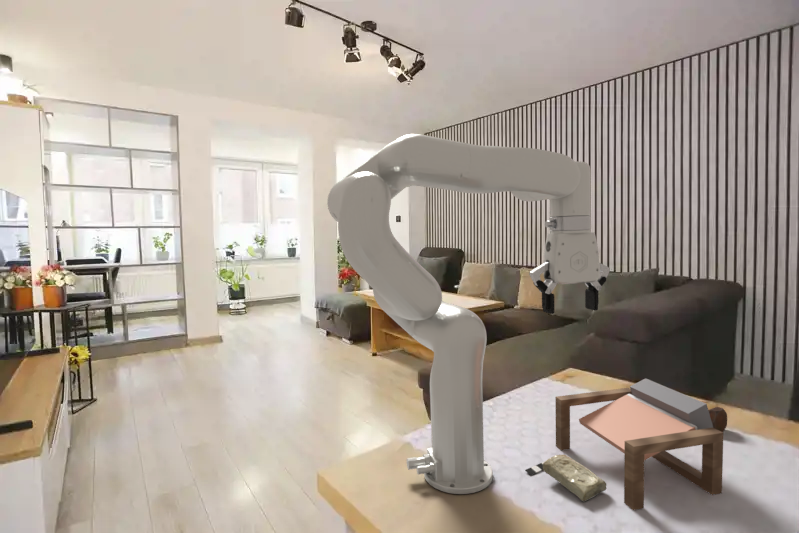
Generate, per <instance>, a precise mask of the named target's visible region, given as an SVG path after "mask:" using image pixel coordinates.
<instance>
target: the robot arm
mask: <svg viewBox="0 0 799 533" xmlns="http://www.w3.org/2000/svg"><path fill="white" fill-rule="evenodd" d="M591 175H592V171H591V166H590V164H588V163H587V162H585V161H575V160H574V159H573V158H572V157H570V156H568V155H567V154H564V153H559V152H555V151H550V150H545V149H539V148H533V147H517V146H516V147H515V146H512V147H510V146H498V145H479V144H473V143H467V142H463V141H456V140H451V139H447V138H446V139H445V138H441V137H436V136H432V135H425V134H419V133H410V134H404V135H403V136H400V137H398V138H396V140H393V141H391V142H390V143H388V144H387V145H385V146H383V148H382V149H380V150H379V151H378V152H376V153H375V154H374V155H373V156H371V157H370V158H369V159H368V160H366V161H365V162H364V163H362V164H361V165H359V166H358V167H357V168H355V169H354V170H353V171H351V172H350V173H348V174H347V175H346V176H345V177H343V178H341V179H340V180H339V181H338V182H336V183H335V184H334V185H333V186H332V188H331V189H330V191H329V193H328V196H327V204H326V205H327V209H328V212H329V214H330V215H331V217H332V219H333V220H334V221H335V222H337V228H338V229H337V230H338V239H339V245H340V246H341V250H342V252H343V256H344V257H345V259H346V261H347V262H348V263H349V265H350V266H351V268H352V269H353V270H354V271H355V272H356V273H357V274H358V275H359V276H360V277H361V278H362V279H363V280H364V281H365V282H366V283H367V285H369V287H371V289H372V295H373V297H374V300H375V302H376V303H377V305H378V306H379V308H380V309H382V311H383V312H384V313H386V315H387V316H389V318H391V319H392V321H394V322H395V323H396V324H397V325H398V326H400V327H401V328H402V330H404V331H405V332H406V333H407V334H408V335H409V336H411V337H412V338H413V339H414V341H417V343H419V344H421V345H422V346H423V347H426V348H427V349H429V350H431V351H432V352H433V359H432V365H431V368H430V376H429V398H430V399H429V400H430V402H429V403H430V427H431V428H430V434H431V435H430V436H431V439H430V440H431V447H427V449H426V451H427V453H425V454H422V456H418V457H416V456H415V457H407V458H406V460H405V461H406V467H407V470H415V469H416V474H417V475H423V476H424V478H425V480H426V482H427V483H428V484H429V485H430V486H431V487H433V488H435V489H436V490H439V491H441V492H444V493H447V494H453V495H468V494H474V493H478V492H480V491H482V490H484V489H486V488H487V487H489V486H490V485H491V483H492V481H493V477H494V475H493V474H494V472H493V468H492V466H491V464H490V463H489V462H487V461H486V460H485V455H484V454H485V453H484V452H485V448H484V447H485V446H484V443H485V442H484V406H483V405H484V404H483V402H484V398H483V394H484V393H483V371H484V370H483V368H484V360H485V354H486V350H487V349H486V347H487V341H488V339H487V338H488V337H487V329H486V326H485V323H484V322H483V320H482V319H481V318H480V317H479V316H478V314H476V313H475V312H474V311H472V310H470V309H468V308H466V307H463V306H460V305H457V304H454V303H453V304H452V303H449V302H446V301H443V294H442V293H443V292H442V289H441V286H440V285H439V284H440V283H439V282H438V281H437V280H436V278H435V277H434V276H433V275H432V274H431V273H430V272H429V271H428V270H426V268H424V267H423V266H422V265H421V264H420V263H419V262H418V261H417V260H416V259H415V257H413V256H412V255H411V254H410V253H409V252H408V251H407V250H406V249H405V248H404V247H403V246H402V244H400V242H399V241H398V239H396V237H395V236H394V234H393V231H392V229H391V225H390V210H391V205H392V199H394V198H395V197H396V196H397V195H399V194H400V193H401V192H402V191H403V190H404V189H406V188H408V187H413V186H414V187H415V186H416V187H423V188H430V189H439V190H445V191H453V192H456V193H457V192H458V193H463V194H465V193H466V194H479V195H480V194H493V193H501V192H502V193H503V192H504V193H506V192H510V193H511V194H512V195H513V196H514V197H515V198H516V199H518V200H520V201H522V202H538V201H539V202H540V201H545V200H549V209H550V210H549V214H550V215H549V216H550V217H549V220H545V221H544V227H545V228H548V229H549V233H547V234H546V240H545V244H544V250H543V251H544V253H543V262H542V264H540V265H538V266H537V267H534V268H533V269H531V270H530V271H529V277H530V278H531V281H532V282H533V285H534V286H535V287H536V288H537V289H538V292H539V293H541V307H542V311H543V312H544V313H545V314H549V315H553V314H555V294H554V293H552V292H553V291H554V290H555V288H556V286H557V285H558V284H559V285H574V284H585V286H586V287H587V288H585V290H584V291H585V292H584V295H585V298H584V299H585V300H584V304H585V305H584V306H585V309H588V310H592V311H598V310H599V296H600V295H599V292H600V291H601V290H602V287H603V285H604V284H605V283H606V282H607V278H608V275H610V274H609V273H610V270H611V269H610V267H609V266H607V265H605V264H603V263H601V262H600V256H599V246H598V240H597V236H596V234H595V232H594V231H591V229H592V228H591V227H592V226H591V225H592V224H591V223H592V221H591V220H592V219H591V218H592V217H591V215H592V213H591V212H592V209H591V208H592V207H591V206H592V204H591V203H592V202H591V198H592V197H591V196H592V195H591V194H592V193H591V192H592V189H591V188H592V187H591V186H592V185H591V183H592V181H591V180H592V178H591V177H592V176H591ZM542 274H543V279H544V281H542V280H541V275H542Z"/></svg>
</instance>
